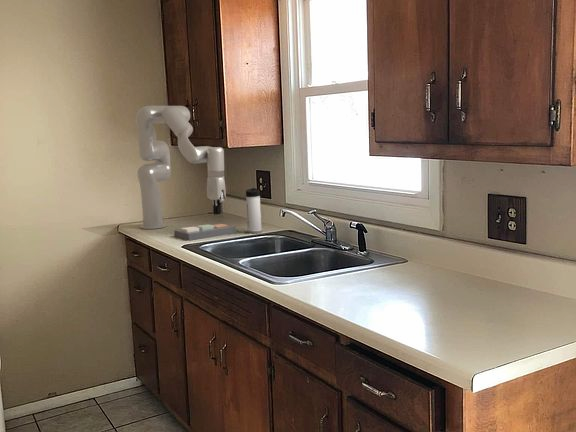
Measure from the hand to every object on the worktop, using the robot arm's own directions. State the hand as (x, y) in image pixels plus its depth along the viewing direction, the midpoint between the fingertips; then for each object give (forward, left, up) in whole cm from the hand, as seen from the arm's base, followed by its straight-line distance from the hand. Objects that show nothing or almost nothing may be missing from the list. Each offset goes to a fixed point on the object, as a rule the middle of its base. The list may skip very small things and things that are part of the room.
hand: (217, 214), depth 300 cm
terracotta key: (+1, 0, -8) cm, 8 cm away
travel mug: (+13, +12, -9) cm, 19 cm away
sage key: (+1, -7, -7) cm, 10 cm away
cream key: (+1, -15, -7) cm, 16 cm away
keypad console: (+1, -7, -9) cm, 11 cm away
